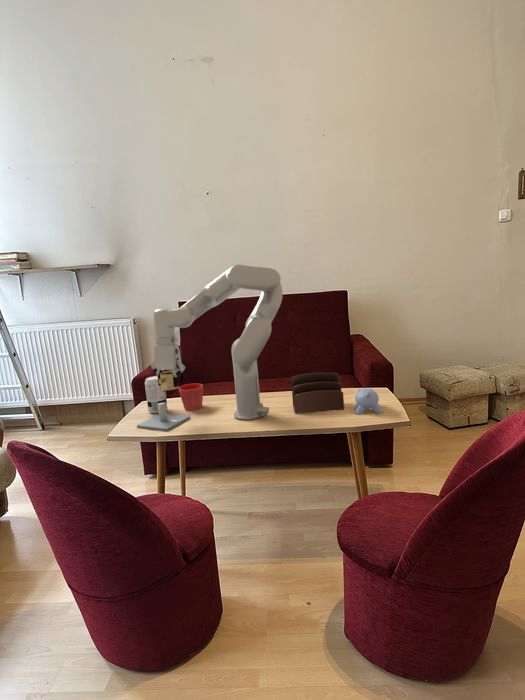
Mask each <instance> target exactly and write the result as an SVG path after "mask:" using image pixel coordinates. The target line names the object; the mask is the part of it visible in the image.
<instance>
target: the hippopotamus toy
mask: <svg viewBox="0 0 525 700" xmlns="http://www.w3.org/2000/svg"><path fill="white" fill-rule="evenodd" d="M379 397H380V396H379V395H378V393H377V392H376V391H375V390H374V389H372V388H365V387H364V388H362V389H358V390H357V392H356V394H355V396H354V399H355V402H356V404H355V406H354V407H353V411H354V410H355V411H354V414H355V415H363V414H364V412H365V411H366V409H367V408H368V409H369V408H371V410H372V411H373V412H374V413H375V414H382V413H384V411H383V409H382V407H381V406H380V404H379V401H380V399H379Z"/></svg>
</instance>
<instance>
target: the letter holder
mask: <svg viewBox="0 0 525 700" xmlns="http://www.w3.org/2000/svg"><path fill="white" fill-rule="evenodd" d="M290 381H291V393H292V394H291V397H292V407H293V411H294V414H305V413H306V414H307V413H308V412H309V413H319V412H321V413H322V412H333V410H335V411H344V410H345V402H344V400H345V399H344V392H343V391H342V384H341V382H340V375H339V373H337V372H327V371H325V372H322V371H321V372H320V371H319V372H311V373H310V372H309V373H302V374H296V375H293V376H292V377H291V380H290ZM309 413H308V414H309Z"/></svg>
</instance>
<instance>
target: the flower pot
mask: <svg viewBox="0 0 525 700" xmlns="http://www.w3.org/2000/svg"><path fill="white" fill-rule="evenodd" d="M178 392H179V395H180V399H181V401H182V404H183V408H184V410H185V411H196V410H199V409H201V408H202V407H203V401H204V400H203V398H204V397H203V395H204V385H203V384H202V383H187V384H183V385H181V386H179V388H178Z"/></svg>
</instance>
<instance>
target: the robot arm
mask: <svg viewBox="0 0 525 700" xmlns="http://www.w3.org/2000/svg"><path fill="white" fill-rule="evenodd" d="M281 278H282V277H281V275H280V273H279V272H278V271H277V270H276V269H274V268H271V267H260V266H252V265H243V264H234V265H232V266H231V267H229V268H228V269H226V270H225V271H224V272H223V273H221V274H220V275H218V277H216V278H214V279H213V280H212V281H211V282H209V283H208V284H207V285H206V286H204V287H203V288H202V289H201V290H200V291H199V292H198V293H196V295H195V296H193V297H192V298H190V299H189V300H188V301H187V302H186V303H184V304H183V305H181V306H180V307H179V308H175V309H172V308H158V309H155V310H154V311H153V325H154V335H155V345H154V350H153V351H154V354H153V356H154V357H153V358H154V359H153V362H152V363H151V364H150V367H151V369H152V370H153V372H154V373H155V376H158V385H159V386H161V384H160V383H159V379H160V374H159V373H162V372H165V371H172V373H173V375H174V377H173V385H174V387H177V386H179V387H181V386H180V385H181V380H180V376H181V375H182V374H183V372H184V371H185V369H186V366H185V365H184V364H183V363H182V357H181V352H180V347H179V344H178V343H177V342H178V341H179V340H178V338H176V329H175V328H180V329H185V328H188V327H190V326H191V325H192V324H193V322H194V321H195V320H197V319H198V318H200V317H201V316H202V315H203V314H204V313H206V312H207V311H209V310H211V309H213V308H215V307H217V306H219V305H220V304H221V303H224V301H226V300H227V299H228V298H229V297H231V296H232V295H233V294H235V293H236V292H238V291H239V290H240V289H243V290H254V291H260V295H259V298H258V300H257V303H256V305H254V308H253V310H252V312H251V313H250V315H249V317H248V318H247V320H246V321H245V326H244V327H245V328H244V329H243V331H242V334H241V335H240V337H239V338H237V339H236V340H234V342H233V343H232V345H231V349H230V350H231V358H232V366H233V367H232V368H233V369H232V370H233V377H234V389H235V400H236V410H235V411H234V413H233V418H234V419H237V420H242V421H247V420H248V421H250V420H251V421H252V420H256V419H259V418H262V417H263V416H265V414H269V412H270V407H269V406H264V405H263V404H264V403H263V402H261V397H260V384H259V370H258V358H259V356H260V354H261V352H262V351H263V349H264V348H265V345H266V344H267V342H268V340H269V339H270V336H271V333H272V322H273V321H274V318H275V317H276V315H277V313H278V311H279V308H280V307H281V305H282V301H283V287H282V284H281Z"/></svg>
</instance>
